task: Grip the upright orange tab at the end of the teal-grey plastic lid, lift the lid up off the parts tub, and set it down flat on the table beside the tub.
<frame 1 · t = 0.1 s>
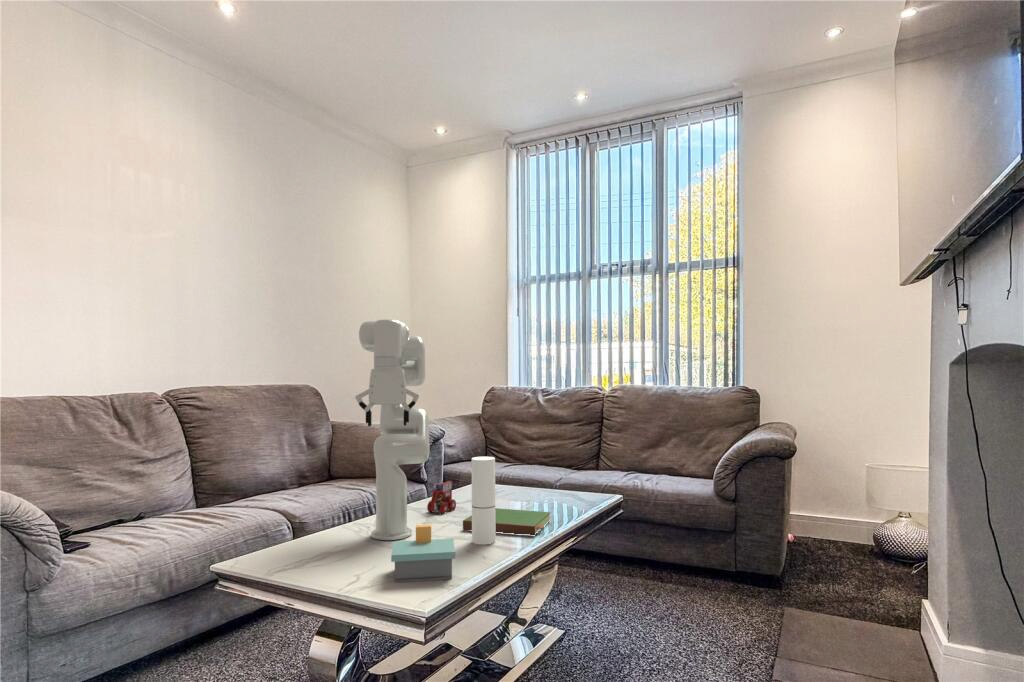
hand: (387, 425, 163), 37 cm above the table, tool pointing down, fingers open, 9 cm apart
cylindrical container: (483, 542, 177), on the table
lid: (423, 549, 150), point 6 cm above the table, touching tub
hardcover book: (508, 528, 194), on the table
toy fire truck: (441, 511, 216), on the table
tub: (423, 573, 150), on the table
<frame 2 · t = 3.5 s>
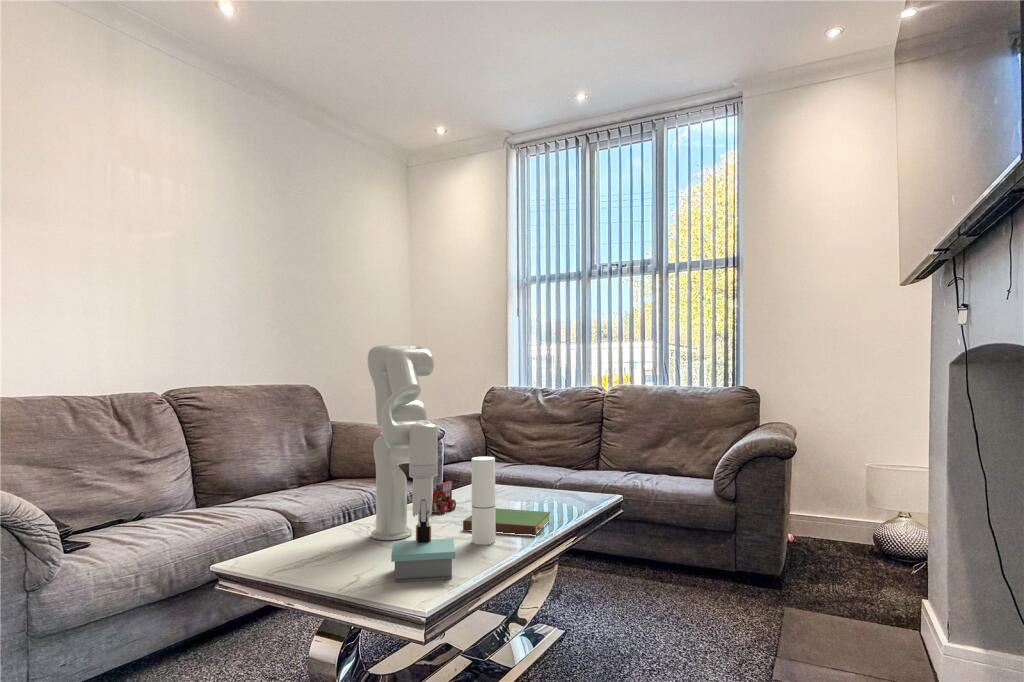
hand: (423, 540, 155), 7 cm above the table, tool pointing down, fingers closed on lid
lid: (423, 549, 150), point 6 cm above the table, touching gripper
everything else where it was.
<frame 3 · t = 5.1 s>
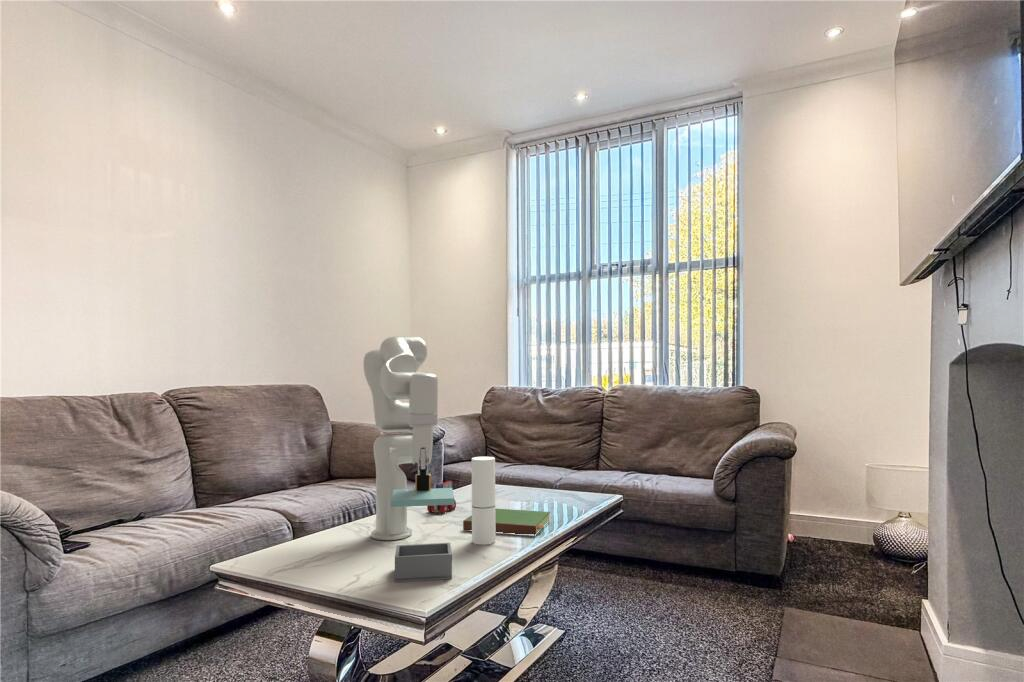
hand: (422, 488, 156), 20 cm above the table, tool pointing down, fingers closed on lid
lid: (422, 497, 151), point 19 cm above the table, touching gripper
everything else where it was.
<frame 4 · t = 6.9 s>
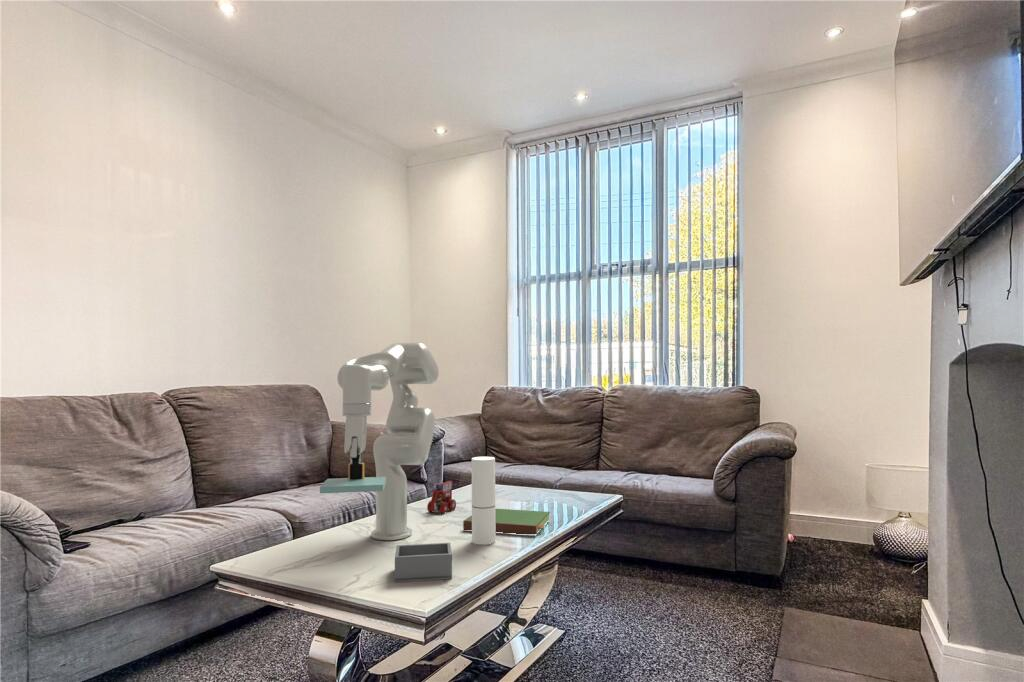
hand: (356, 477, 159), 23 cm above the table, tool pointing down, fingers closed on lid
lid: (354, 484, 154), point 22 cm above the table, touching gripper
everything else where it was.
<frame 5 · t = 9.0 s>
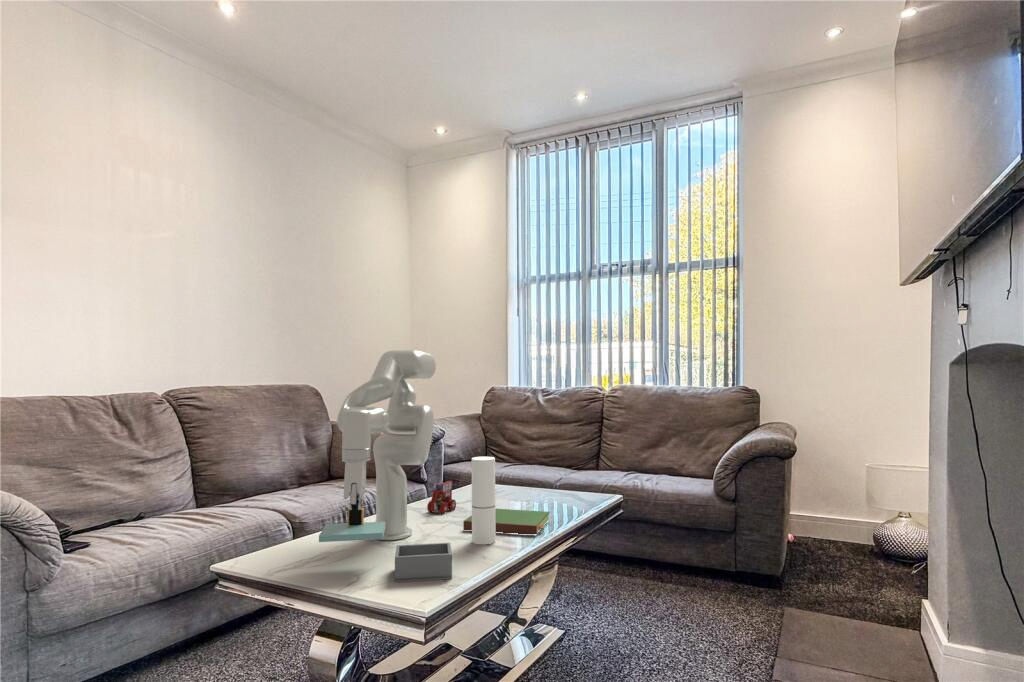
hand: (355, 523, 158), 11 cm above the table, tool pointing down, fingers closed on lid
lid: (353, 531, 153), point 10 cm above the table, touching gripper
everything else where it was.
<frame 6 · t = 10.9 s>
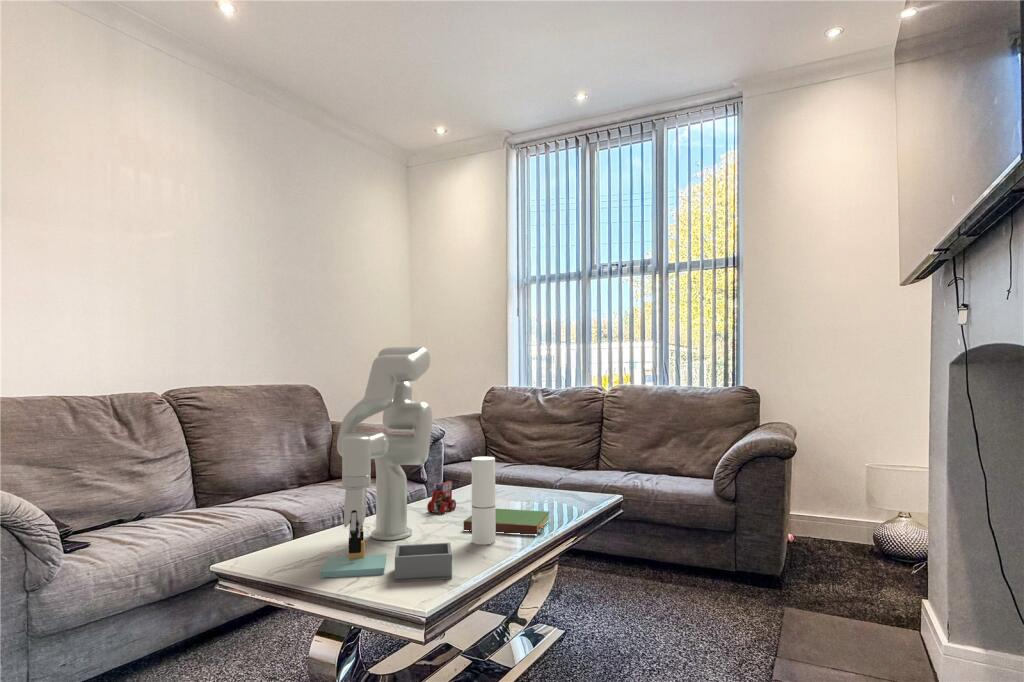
hand: (356, 548, 158), 4 cm above the table, tool pointing down, fingers open, 4 cm apart
lid: (354, 565, 154), point 1 cm above the table
everything else where it was.
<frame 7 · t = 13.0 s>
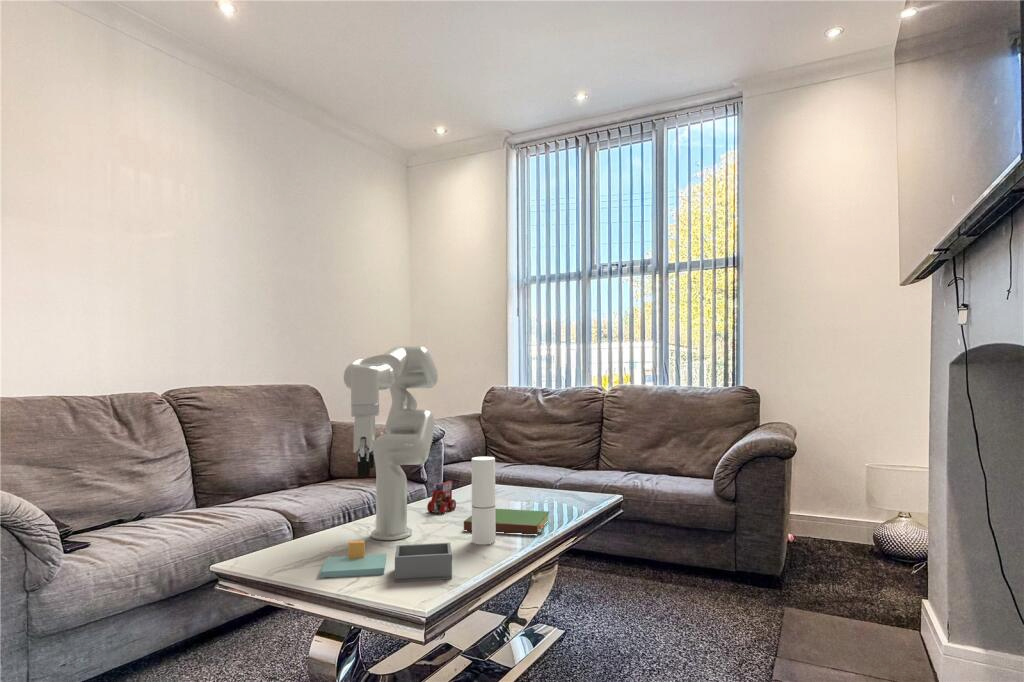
hand: (365, 472, 162), 24 cm above the table, tool pointing down, fingers open, 9 cm apart
nothing on the table moved.
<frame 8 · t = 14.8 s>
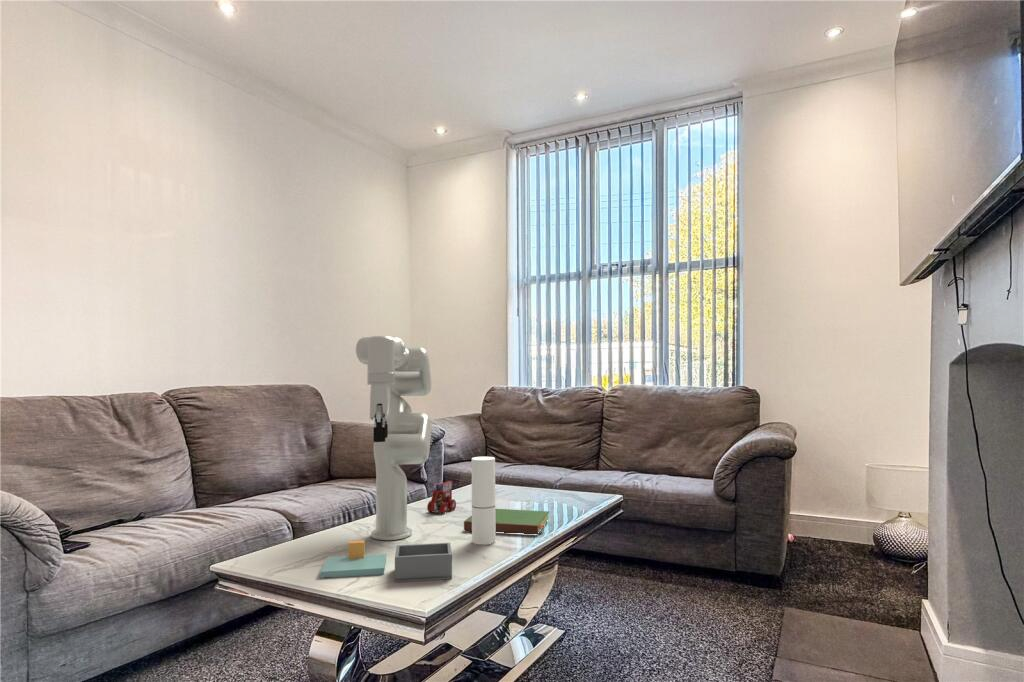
hand: (380, 439, 166), 32 cm above the table, tool pointing down, fingers open, 9 cm apart
nothing on the table moved.
at the end: lid touching table; lid inside the target area (0.9 cm from its centre), point 0.8 cm above the table; lid tilted 0° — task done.
